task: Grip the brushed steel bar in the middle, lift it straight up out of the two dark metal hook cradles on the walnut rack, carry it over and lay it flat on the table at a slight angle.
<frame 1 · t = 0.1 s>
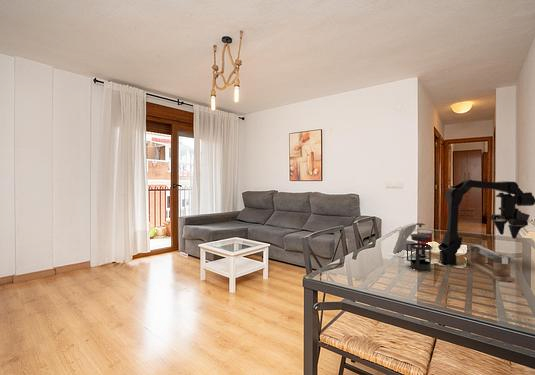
hand: (507, 236, 141), 15 cm above the table, tool pointing down, fingers open, 9 cm apart
phone holder: (402, 253, 167), on the table
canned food: (424, 248, 176), on the table
steel bar: (489, 256, 132), point 7 cm above the table, touching hook rack
french press: (419, 268, 140), on the table
hook rack: (489, 271, 133), on the table
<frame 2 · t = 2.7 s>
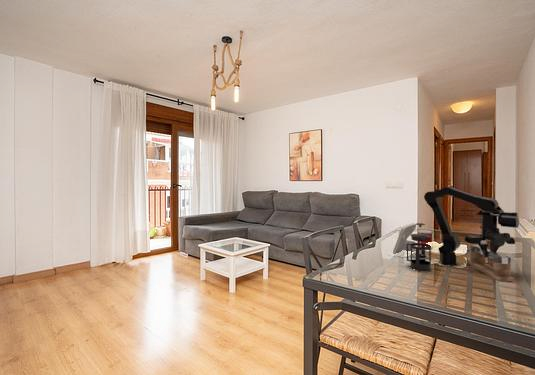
hand: (489, 257, 132), 7 cm above the table, tool pointing down, fingers closed on steel bar, 2 cm apart
steel bar: (489, 256, 132), point 7 cm above the table, touching gripper, hook rack
everything else where it was.
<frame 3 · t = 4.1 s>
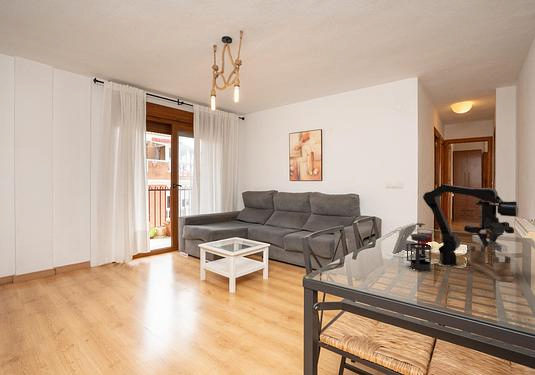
hand: (488, 247, 133), 12 cm above the table, tool pointing down, fingers closed on steel bar, 2 cm apart
steel bar: (488, 246, 133), point 12 cm above the table, touching gripper
everything else where it was.
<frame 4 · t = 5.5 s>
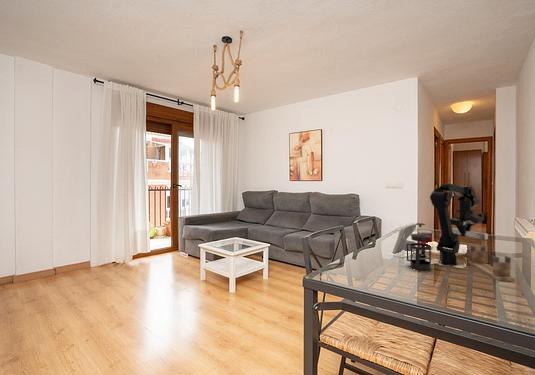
hand: (464, 236, 155), 12 cm above the table, tool pointing down, fingers closed on steel bar, 2 cm apart
steel bar: (465, 235, 155), point 13 cm above the table, touching gripper
everything else where it was.
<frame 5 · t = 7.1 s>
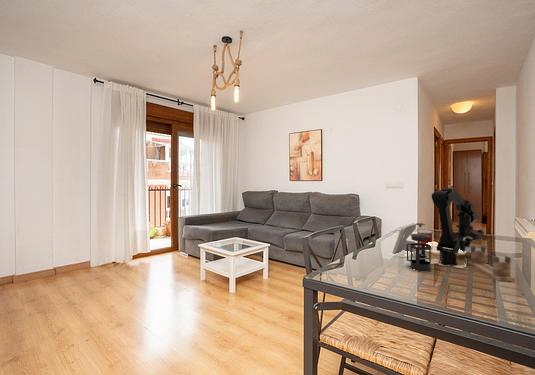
hand: (464, 251, 156), 3 cm above the table, tool pointing down, fingers closed on steel bar, 2 cm apart
steel bar: (464, 250, 156), point 4 cm above the table, touching gripper
everything else where it was.
when the fingers open (1 cm above the table, at t = 8.2 s): steel bar drops 2 cm, on the table.
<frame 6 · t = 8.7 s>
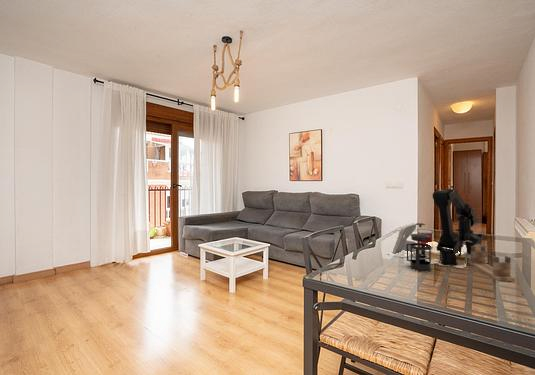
hand: (464, 255, 156), 1 cm above the table, tool pointing down, fingers open, 8 cm apart
steel bar: (464, 257, 156), on the table
everything else where it was.
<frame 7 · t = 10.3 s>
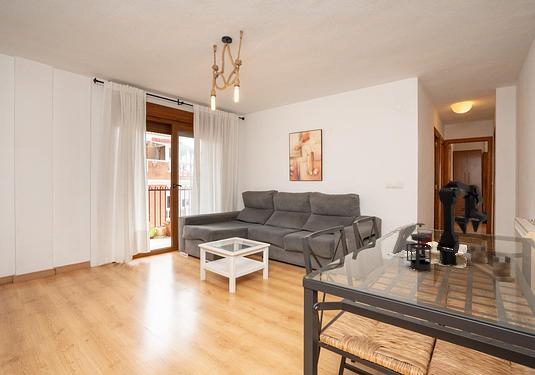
hand: (470, 233, 160), 12 cm above the table, tool pointing down, fingers open, 9 cm apart
nothing on the table moved.
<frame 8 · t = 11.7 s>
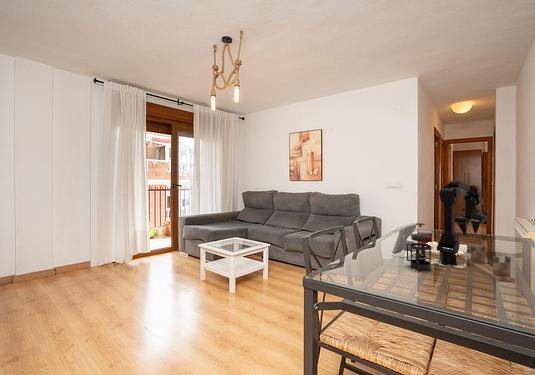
hand: (470, 233, 160), 12 cm above the table, tool pointing down, fingers open, 9 cm apart
nothing on the table moved.
at the end: steel bar inside the target area (0.1 cm from its centre), on the table; steel bar touching table; the gripper is holding nothing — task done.
